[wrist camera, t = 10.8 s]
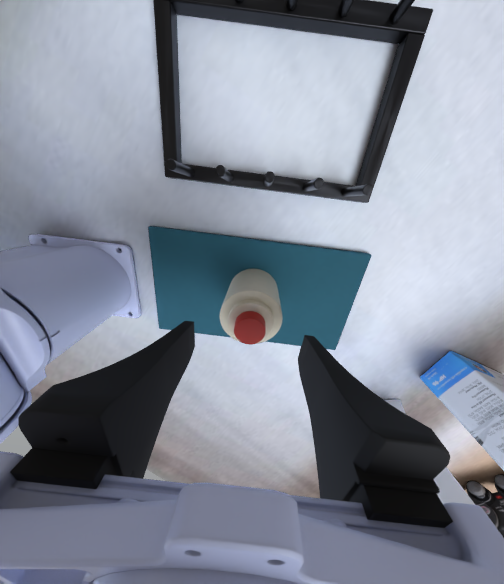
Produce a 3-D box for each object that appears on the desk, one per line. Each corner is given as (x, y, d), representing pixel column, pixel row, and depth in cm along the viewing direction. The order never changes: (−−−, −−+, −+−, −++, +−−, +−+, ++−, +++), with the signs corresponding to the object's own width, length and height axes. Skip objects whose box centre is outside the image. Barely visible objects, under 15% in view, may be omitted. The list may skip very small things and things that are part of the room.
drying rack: (170, 178, 16) (138, 169, 12) (159, -12, 12) (104, -127, 8) (362, 202, 16) (396, 202, 12) (421, 22, 12) (505, -72, 8)
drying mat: (161, 325, 22) (158, 328, 22) (151, 225, 18) (147, 226, 17) (333, 346, 22) (335, 350, 22) (368, 253, 18) (372, 254, 17)
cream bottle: (227, 309, 20) (213, 354, 14) (231, 265, 18) (216, 296, 12) (273, 315, 20) (278, 362, 14) (281, 271, 18) (291, 305, 12)
